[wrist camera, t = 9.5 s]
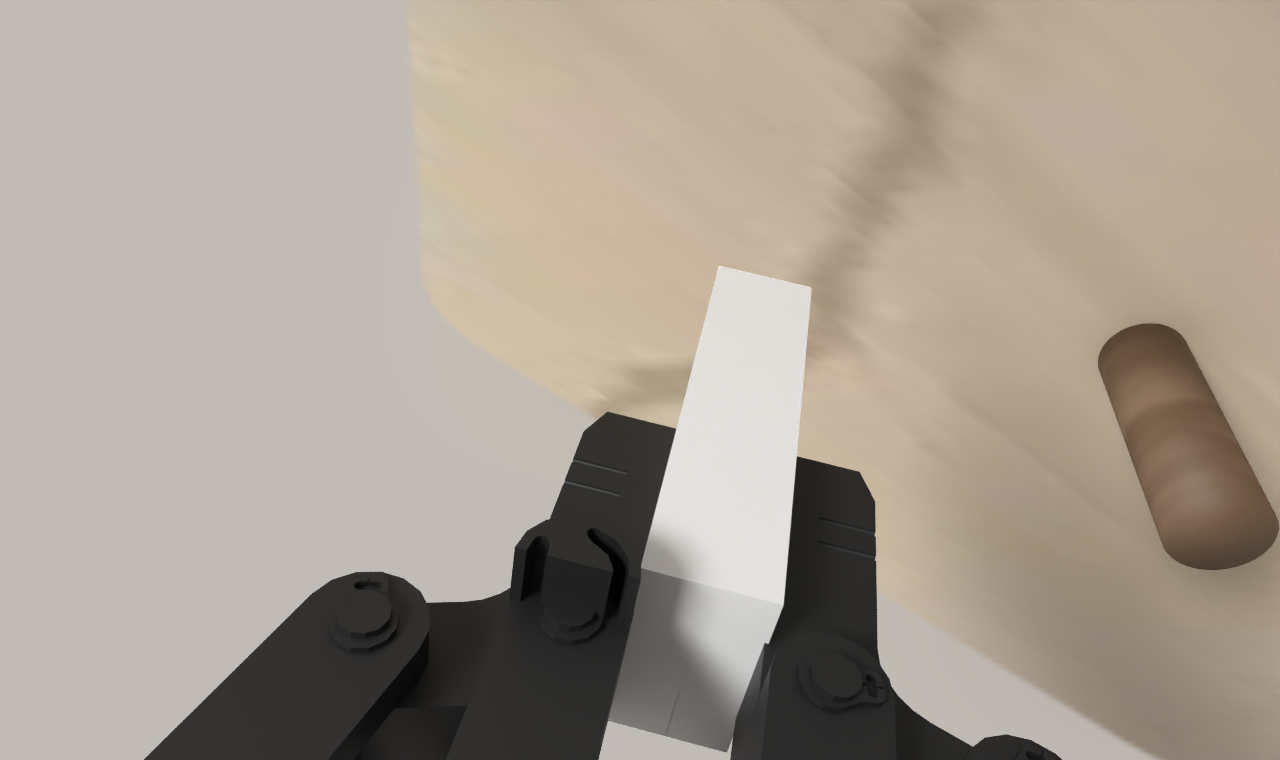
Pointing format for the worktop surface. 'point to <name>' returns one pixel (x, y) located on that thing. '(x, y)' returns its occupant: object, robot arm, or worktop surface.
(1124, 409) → the post
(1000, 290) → the worktop surface
